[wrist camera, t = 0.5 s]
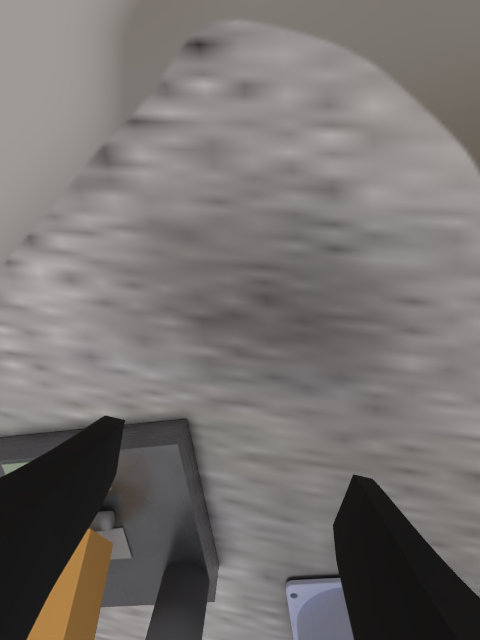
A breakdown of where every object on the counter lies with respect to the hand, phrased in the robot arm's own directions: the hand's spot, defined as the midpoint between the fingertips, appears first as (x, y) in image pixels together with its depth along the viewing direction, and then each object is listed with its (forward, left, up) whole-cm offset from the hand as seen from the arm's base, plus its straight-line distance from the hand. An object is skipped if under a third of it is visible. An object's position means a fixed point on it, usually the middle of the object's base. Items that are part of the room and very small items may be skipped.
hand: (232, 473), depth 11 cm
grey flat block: (-10, +12, -10) cm, 19 cm away
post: (-14, +6, -8) cm, 17 cm away
